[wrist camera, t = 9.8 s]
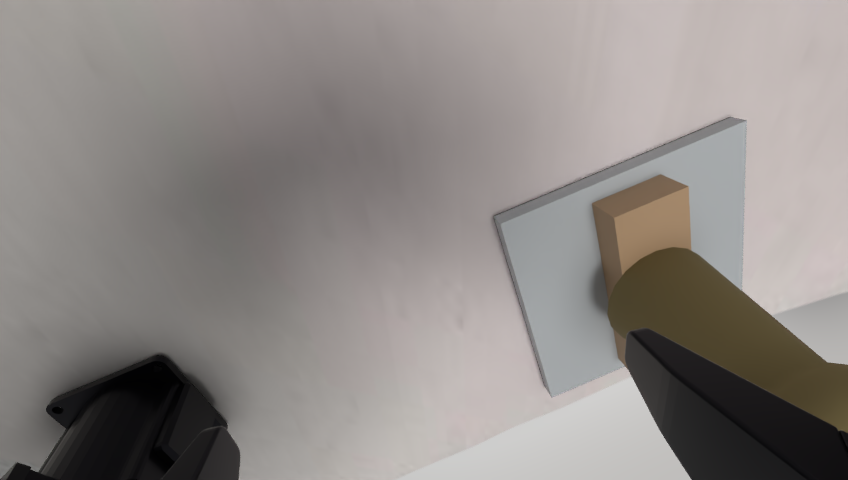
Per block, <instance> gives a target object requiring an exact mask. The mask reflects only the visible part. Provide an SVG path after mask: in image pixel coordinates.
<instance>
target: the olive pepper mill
mask: <svg viewBox="0 0 848 480" xmlns="http://www.w3.org/2000/svg"><path fill="white" fill-rule="evenodd" d="M607 315H608V318H609V321H610V325H611V327H612V328H613V329H614V330H615V331H616V332H617V333H618V334H619V335H620V336H622V337H623V338H624V339H626V336H627V333H628V332H629V331H631V330H635V329H640V328H649V329H651V330H653V331H655V332H657V333H659V334H661V335H663V336H665V337H667V338H668V339H670V340H672V341H674V342H676V343H678V344H680V345H682V346H684V347H685V348H687V349H689V350H691V351H693V352H695V353H697V354H699V355H701V356H702V357H704V358H706V359H708V360H710V361H712V362H714V363H716V364H718V365H720V366H721V367H723V368H725V369H727V370H729V371H731V372H733V373H735V374H737V375H738V376H740V377H742V378H744V379H746V380H748V381H750V382H752V383H754V384H755V385H757V386H759V387H761V388H763V389H765V390H767V391H769V392H771V393H773V394H774V395H776V396H778V397H780V398H782V399H784V400H786V401H788V402H790V403H791V404H793V405H795V406H797V407H799V408H801V409H803V410H805V411H807V412H809V413H810V414H812V415H814V416H816V417H818V418H820V419H822V420H824V421H826V422H827V423H829V424H831V425H833V426H835V427H836V428H837V429H838V431H839V430H843V431H845V432H847V433H848V365H845V364H836V363H827V362H826V361H825V360H823V359H822V358H821V357H820V356H819V355H817V354H816V353H815V352H814V351H813V350H812V349H810V348H809V347H808V346H807V345H806V344H804V343H803V342H802V341H801V340H800V339H798V338H797V337H796V336H795V335H793V333H791V332H790V331H789V330H788V329H787V328H785V327H784V326H783V325H782V324H781V323H779V322H778V321H777V320H776V319H775V318H773V317H772V316H771V315H770V314H769V313H768V312H766V311H765V310H764V309H763V308H762V307H760V306H759V305H758V304H757V303H756V302H754V301H753V300H752V299H751V298H750V297H748V296H747V295H746V294H745V293H744V292H743V291H741V290H740V289H739V288H738V287H737V286H735V285H734V284H733V283H732V282H731V281H729V280H728V279H727V278H726V277H725V276H723V275H722V274H721V273H720V272H719V271H717V270H716V269H715V268H714V267H713V266H712V265H710V264H709V263H708V262H707V261H706V260H704V259H703V258H702V257H701V256H700V255H698V254H697V253H695V252H693V251H691V250H689V249H687V248H678V247H670V248H666V249H662V250H657V251H655V252H653V253H651V254H649V255H647V256H645V257H643V258H641V259H640V260H638V261H637V262H636V263H635V264H634V265H632V266H631V267H630V268H629V269H628V270H627V271H625V273H624V274H623V275H622V277H621V278H620V279H619V281H618V282H617V283H616V285H615V286H614V289H613V291H612V293H611V296H610V298H609V301H608V312H607Z"/></svg>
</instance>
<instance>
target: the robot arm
mask: <svg viewBox="0 0 848 480" xmlns="http://www.w3.org/2000/svg"><path fill="white" fill-rule="evenodd" d="M625 362H626V365H627V368H628V370H629V372H630V374H631V376H632V378H633V380H634V382H635V383H636V385H637V387H638V389H639V391H640V393H641V395H642V397H643V399H644V401H645V403H646V404H647V407H648V409H649V411H650V412H651V415H652V416H653V418H654V420H655V422H656V424H657V426H658V428H659V430H660V431H661V433H662V434H663V436H664V438H665V439H666V441H667V443H668V444H669V446H670V447H671V449H672V450H673V452H674V453H675V455H676V456H677V458H678V459H679V461H680V462H681V464H682V466H683V467H684V469H685V470H686V472H687V473H688V475H689V476H690V478H691V479H692V480H848V433H847V432H845V431H843V430H839V431H838V429H837V428H836V427H835V426H833V425H831V424H829V423H827V422H826V421H824V420H822V419H820V418H818V417H816V416H814V415H812V414H810V413H809V412H807V411H805V410H803V409H801V408H799V407H797V406H795V405H793V404H791V403H790V402H788V401H786V400H784V399H782V398H780V397H778V396H776V395H774V394H773V393H771V392H769V391H767V390H765V389H763V388H761V387H759V386H757V385H755V384H754V383H752V382H750V381H748V380H746V379H744V378H742V377H740V376H738V375H737V374H735V373H733V372H731V371H729V370H727V369H725V368H723V367H721V366H720V365H718V364H716V363H714V362H712V361H710V360H708V359H706V358H704V357H702V356H701V355H699V354H697V353H695V352H693V351H691V350H689V349H687V348H685V347H684V346H682V345H680V344H678V343H676V342H674V341H672V340H670V339H668V338H667V337H665V336H663V335H661V334H659V333H657V332H655V331H653V330H651V329H649V328H640V329H635V330H631V331H629V332H628V333H627V336H626V347H625ZM156 365H161V366H162V367H158V366H156ZM60 407H61V408H60ZM46 411H47V413H48V414H49V415H50V416H51V417H53V418H54V419H55V420H56V421H57V422H59V423H60V424H61V425H62V426H63V427H65V428H66V430H65V432H64V433H63V435H62V437H61V438H60V440H59V441H58V443H57V444H56V446H55V447H54V449H53V450H52V452H51V453H50V455H49V456H48V458H47V459H46V461H45V463H44V464H43V466H42V467H41V469H40V470H39V472H35V471H32V470H30V469H31V467H29V466H26V465H24V464H21V463H18V462H17V463H15V465H14V466H13V467H12V468H11V469H10V470H9V471H8V472H7V473H6V474H5V475H4V476H3V477H2V478H1V479H0V480H238V479H239V467H240V451H239V448H238V446H237V444H236V443H235V441H234V440H233V438H232V437H231V435H230V434H229V432H228V431H227V428H228V425H227V423H226V422H225V421H224V420H223V419H222V418H221V417H220V416H219V414H218V413H217V412H216V410H215V409H214V408H213V407H212V406H211V405H210V404H209V402H208V401H207V400H206V399H205V398H204V397H203V396H202V395H201V394H200V392H199V391H198V390H197V389H196V388H195V387H194V386H193V385H192V384H191V383H190V382H189V381H188V380H187V379H186V378H185V377H184V376H183V375H182V373H181V372H180V371H179V370H178V369H177V368H176V367H175V366H174V365H173V363H172V362H171V361H170V360H169V359H168V358H166V357H164V356H155V357H152V358H150V359H147V360H145V361H142V362H140V363H138V364H135V365H133V366H131V367H128V368H126V369H123V370H121V371H119V372H116V373H114V374H112V375H109V376H107V377H104V378H102V379H100V380H97V381H95V382H92V383H90V384H88V385H85V386H83V387H81V388H78V389H76V390H73V391H71V392H69V393H66V394H64V395H61V396H59V397H57V398H55V399H53V400H52V401H51V402H50V404H49V405H48V406H47V408H46Z"/></svg>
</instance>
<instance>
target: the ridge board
mask: <svg viewBox="0 0 848 480" xmlns="http://www.w3.org/2000/svg"><path fill="white" fill-rule="evenodd" d="M746 126H747V120H742V119H738V118H733V117H730V118H727V119H725V120H722V121H720V122H718V123H715V124H713V125H711V126H708V127H706V128H703V129H701V130H699V131H696V132H694V133H692V134H689V135H687V136H684V137H682V138H680V139H677V140H675V141H672V142H670V143H668V144H665V145H663V146H661V147H658V148H656V149H653V150H651V151H649V152H646V153H644V154H642V155H639V156H637V157H634V158H632V159H630V160H627V161H625V162H622V163H620V164H618V165H615V166H613V167H611V168H608V169H606V170H603V171H601V172H599V173H596V174H594V175H591V176H589V177H587V178H584V179H582V180H580V181H577V182H575V183H572V184H570V185H568V186H565V187H563V188H561V189H558V190H556V191H553V192H551V193H549V194H546V195H544V196H541V197H539V198H537V199H534V200H532V201H530V202H527V203H525V204H522V205H520V206H518V207H515V208H513V209H511V210H508V211H506V212H503V213H501V214H499V215H496V216H494V219H495V223H496V226H497V229H498V233H499V236H500V239H501V243H502V246H503V249H504V252H505V256H506V259H507V262H508V266H509V269H510V272H511V276H512V279H513V282H514V285H515V289H516V292H517V295H518V299H519V302H520V305H521V309H522V312H523V315H524V318H525V322H526V325H527V328H528V332H529V335H530V338H531V342H532V345H533V348H534V352H535V355H536V358H537V361H538V365H539V368H540V371H541V375H542V378H543V381H544V385H545V387H546V389H547V391H548V392H549V394H550V395H551V397H555V396H557V395H559V394H562V393H564V392H566V391H569V390H571V389H573V388H576V387H578V386H580V385H583V384H585V383H587V382H590V381H592V380H594V379H597V378H599V377H601V376H604V375H606V374H608V373H611V372H613V371H615V370H618V369H620V368H622V367H626V368H627V365H626V362H625V347H626V339H624V338H623V337H622V336H620V335H619V334H618V333H617V332H616V331H615V330H614V329H613V328H612V327H611V325H610V321H609V318H608V315H607V312H608V301H609V298H610V296H611V293H612V291H613V289H614V286H615V285H616V283H617V282H618V281H619V279H620V278H621V277H622V275H623V274H624V273H625V271H627V270H628V269H629V268H630V267H631V266H632V265H634V264H635V263H636V262H637V261H638V260H640V259H641V258H643V257H645V256H647V255H649V254H651V253H653V252H655V251H657V250H662V249H666V248H670V247H678V248H687V249H689V250H691V251H693V252H695V253H697V254H698V255H700V256H701V257H702V258H703V259H704V260H706V261H707V262H708V263H709V264H710V265H712V266H713V267H714V268H715V269H716V270H717V271H719V272H720V273H721V274H722V275H723V276H725V277H726V278H727V279H728V280H729V281H731V282H732V283H733V284H734V285H735V286H737V287H738V288H739V289H740V290H741V291H742V271H743V235H744V199H745V162H746ZM627 369H628V368H627Z"/></svg>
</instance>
